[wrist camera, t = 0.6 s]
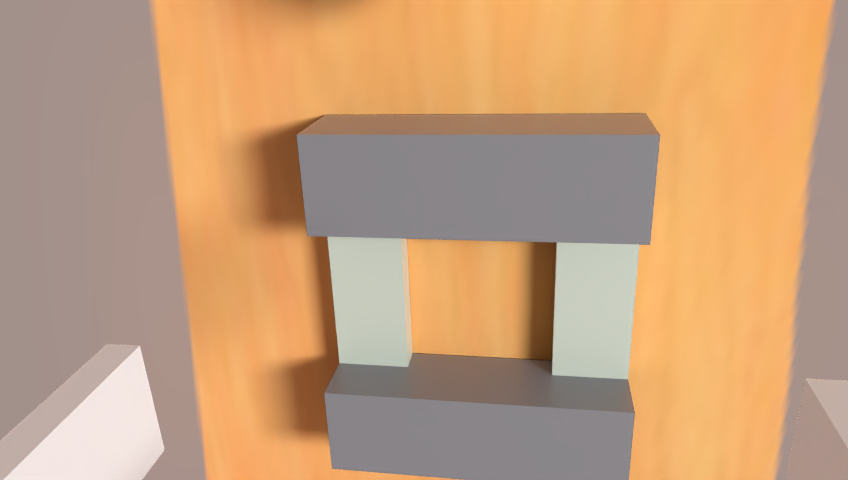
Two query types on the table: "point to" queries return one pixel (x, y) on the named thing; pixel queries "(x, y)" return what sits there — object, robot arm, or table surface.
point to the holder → (487, 221)
